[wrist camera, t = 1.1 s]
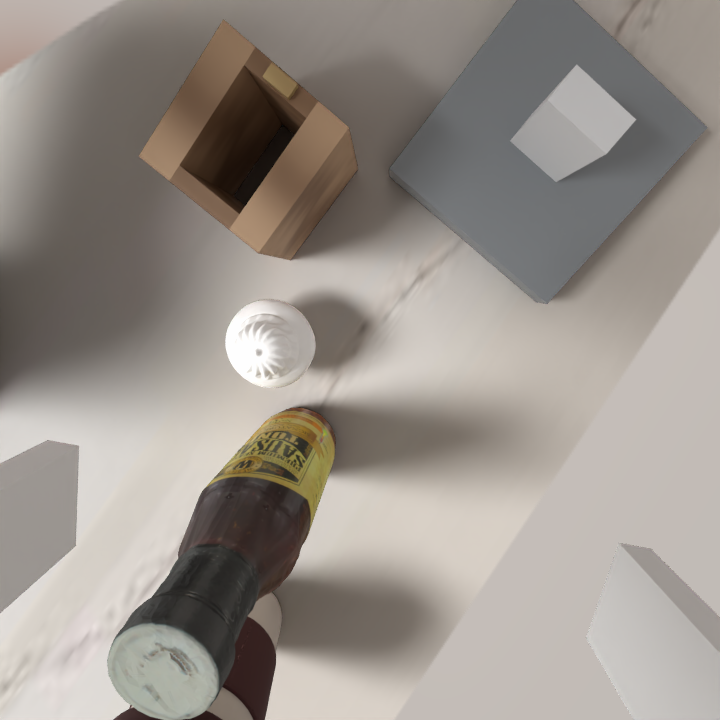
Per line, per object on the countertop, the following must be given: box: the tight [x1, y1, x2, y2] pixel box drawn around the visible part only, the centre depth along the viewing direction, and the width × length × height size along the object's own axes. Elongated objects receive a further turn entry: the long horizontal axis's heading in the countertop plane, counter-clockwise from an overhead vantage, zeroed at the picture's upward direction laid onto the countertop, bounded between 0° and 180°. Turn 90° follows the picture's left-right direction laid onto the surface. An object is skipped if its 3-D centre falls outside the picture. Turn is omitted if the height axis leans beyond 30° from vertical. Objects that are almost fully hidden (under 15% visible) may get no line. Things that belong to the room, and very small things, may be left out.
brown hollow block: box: [139, 19, 358, 260], centre depth 25 cm, size 8×8×8 cm
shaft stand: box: [389, 0, 708, 304], centre depth 24 cm, size 14×14×8 cm
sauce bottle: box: [107, 408, 336, 720], centre depth 23 cm, size 7×6×20 cm
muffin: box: [225, 299, 316, 388], centre depth 28 cm, size 6×6×7 cm
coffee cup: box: [114, 592, 282, 720], centre depth 29 cm, size 10×10×15 cm
